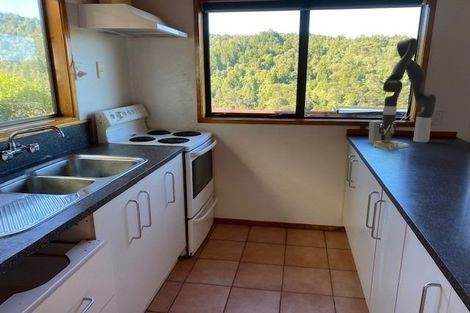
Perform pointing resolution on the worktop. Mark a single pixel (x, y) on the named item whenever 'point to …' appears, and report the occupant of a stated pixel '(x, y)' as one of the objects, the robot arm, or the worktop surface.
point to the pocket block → (386, 145)
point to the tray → (402, 144)
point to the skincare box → (374, 131)
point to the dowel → (387, 136)
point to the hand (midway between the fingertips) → (386, 139)
